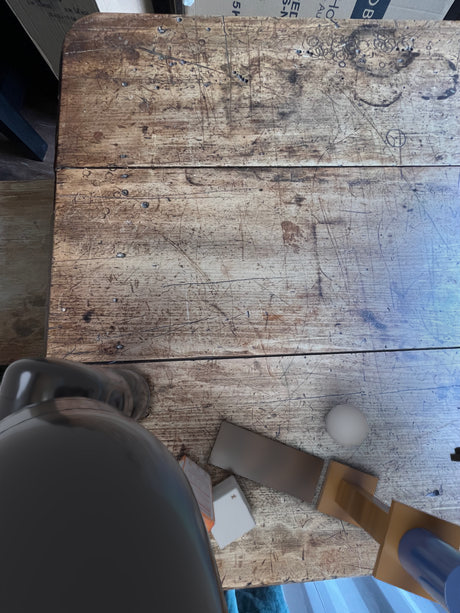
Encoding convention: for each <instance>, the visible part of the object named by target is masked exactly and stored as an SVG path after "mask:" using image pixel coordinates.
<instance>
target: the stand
mask: <svg viewBox="0 0 460 613" xmlns="http://www.w3.org/2000/svg"><path fill="white" fill-rule="evenodd" d="M378 481H379V478H378V477H376V476H374V475H373V474H369V473H367V472H364V471H361V470H360V469H357V468H354V467H351V466H348V465H346V464H344V463H341V462H338V461H336V460H334V459H330V460H329V463H328V466H327V469H326V473H325V476H324V479H323V483H322V486H321V489H320V493H319V495H318V499H317V502H316V506H315V510H316V511H317V512H320V513H321V514H325V515H328V516H330V517H332V518H335V519H338V520H340V521H343V522H345V523H347V524H349V525H352V526H356V527H357V528H361V529H362V530H364V531H365V532H366V533H367V534H368V535H369V536H370V537H371V538H372V539H373V540H374V541H375V542H376V543H377V544H378V545H379V547H378V550H377V555H376V557H375V563H374V565H373V569H372V574H371V576H372V577H373V578H374V579H375V580H378V581H380V582H382V583H386V584H387V585H390V586H393V587H396V588H398V589H401V590H403V591H404V592H405V591H406V592H408V593H411V594H413V595H415V596H418V597H421V598H423V599H425V600H428V601H431V602H433V603H436V604H438V605H440V604H439V603H438V602H437V601H436V600H435V599H433V598H432V597H431V596H430V595H429V594H428V593H427V592H426V591H425V590H424V589H423V588H422V587H421V586H420V585H419V584H418V583H417V582H416V581H415V580H414V579H413V578H412V577H411V576H410V575H409V574H408V573H407V572H406V571H405V570H404V569H403V567H402V565H401V563H400V561H399V556H398V547H399V543H400V540H401V538H402V537H403V535H404V534H405V533H406V532H407V531H409V530H411V529H413V528H425V529H428V530H430V531H431V532H433V533H434V534H436V535H437V536H439V537H440V538H442V539H443V540H445V541H446V542H448V543H449V544H451V545H452V546H454V547H455V548H457V549H458V550H460V524H457V523H455V522H453V521H449V520H447V519H444V518H442V517H439V516H438V515H437V516H436V515H434V514H431V513H429V512H427V511H424V510H421V509H419V508H416V507H414V506H411V505H409V504H406V503H403V502H401V501H398V500H396V499H391V502H390V505H388V504H387V503H386V502H384V501H382V500H381V499H380V498H378V497H377V496H375V493H376V489H377V485H378Z"/></svg>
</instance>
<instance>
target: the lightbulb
mask: <svg viewBox="0 0 460 613" xmlns="http://www.w3.org/2000/svg"><path fill="white" fill-rule="evenodd" d="M323 422H324V424H325V427H326V431H327V434H328V436H329V437H330V439H331V440H332V441H333V443H336V444H337V445H339V446H341V447H345V448H352V447H357V446H359V445H361V444H362V443H364V442H365V440H366V439H367V437H368V436H369V433H370V432H369V431H370V424H369V423H370V422H369V420H368V418H367V416H366V414H365V413H364V412H363V411H362V409H360V408H359V407H357V406H355V405H353V404H349V403H342V404H338V405H336V406H335V407H333V408H332V409H331V410H329V412H327V413H326V414H325V416H324V419H323Z"/></svg>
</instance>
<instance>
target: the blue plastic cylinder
mask: <svg viewBox="0 0 460 613" xmlns="http://www.w3.org/2000/svg"><path fill="white" fill-rule="evenodd" d="M398 556H399V561H400V563H401V565H402V567H403V569H404V570H405V571H406V572H407V573H408V574H409V575H410V576H411V577H412V578H413V579H414V580H415V581H416V582H417V583H418V584H419V585H420V586H421V587H422V588H423V589H424V590H425V591H426V592H427V593H428V594H429V595H430V596H431V597H432V598H433V599H435V600H436V601H437V602H438V603H439V604H438V603H437V604H438V605H439V606H440V607H442V608H443V609H444V610H445V611H446V612H447V613H460V549H459V550H458V549H457V548H455V547H454V546H452V545H451V544H449V543H448V542H446V541H445V540H443V539H442V538H440V537H439V536H437V535H436V534H434V533H433V532H431V531H430V530H428V529H425V528H413V529H411V530H409V531H407V532H406V533H405V534H404V535H403V537H402V538H401V540H400V543H399V547H398Z"/></svg>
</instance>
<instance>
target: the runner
mask: <svg viewBox="0 0 460 613" xmlns="http://www.w3.org/2000/svg"><path fill="white" fill-rule="evenodd" d="M207 464H209V465H212V466H214V467H217V468H220V469H222V470H225V471H226V472H230V473H233V474H235V475H237V476H240V477H242V478H246V479H248V480H250V481H253V482H255V483H257V484H260V485H262V486H265V487H267V488H270V489H273V490H276V491H278V492H280V493H283V494H284V495H285V494H286V495H288V496H290V497H292V498H296V499H298V500H301V501H303V502H305V503H307V504H308V503H309V504H312V503H313V499H314V496H315V494H316V491H317V490H316V489H317V487H318V484H319V480H320V477H321V474H322V470H323V467H324V464H325V460H324V459H322V458H320V457H317V456H315V455H312V454H309V453H307V452H304V451H301V450H300V449H297V448H294V447H292V446H289V445H287V444H284V443H281V442H280V441H276V440H274V439H271V438H269V437H266V436H263V435H261V434H258V433H256V432H254V431H251V430H248V429H246V428H243V427H241V426H238V425H236V424H233V423H230V422H228V421H225V420H222V421H221V424H220V427H219V430H218V433H217V434H216V438H215V440H214V443H213V446H212V449H211V451H210V453H209V457H208V459H207Z"/></svg>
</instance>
